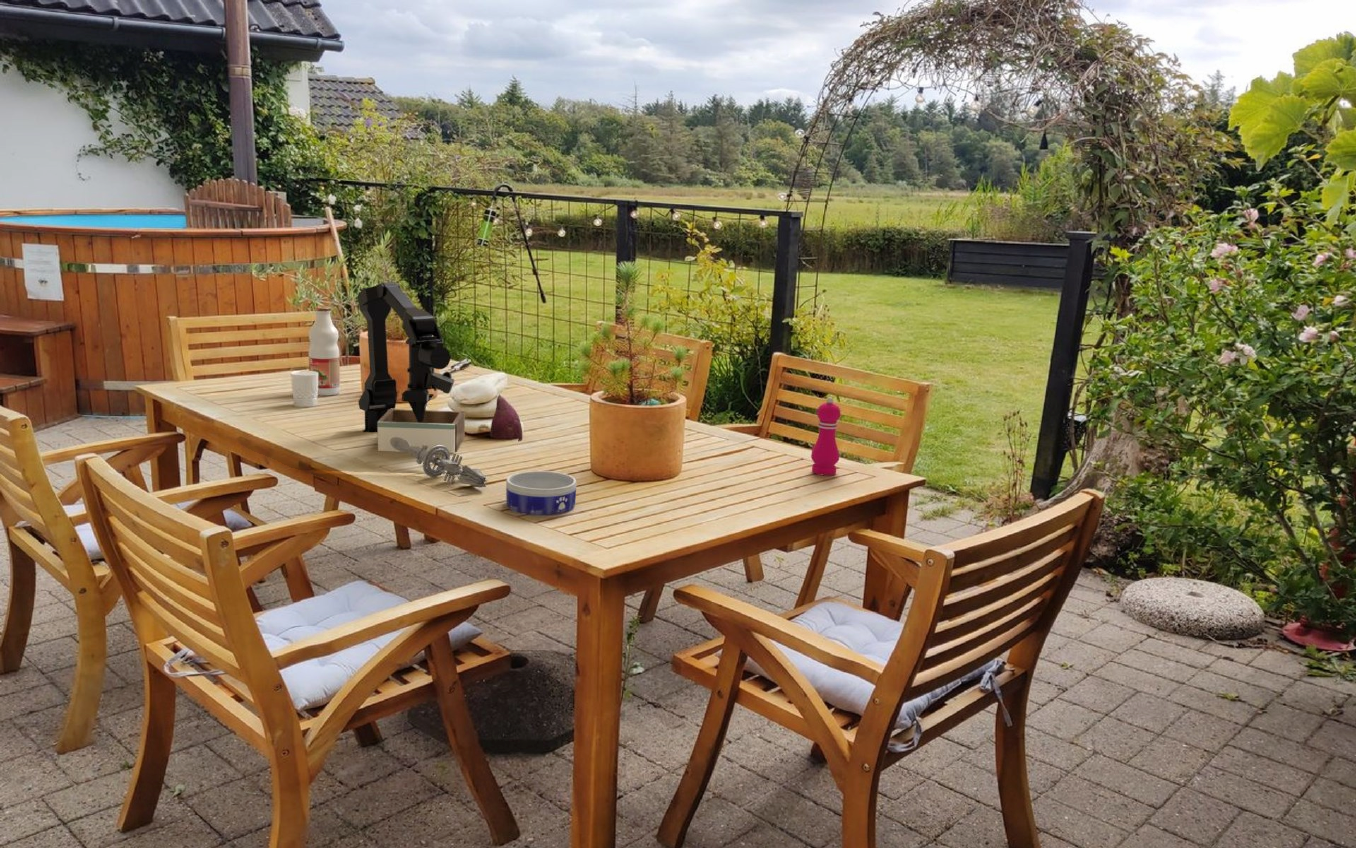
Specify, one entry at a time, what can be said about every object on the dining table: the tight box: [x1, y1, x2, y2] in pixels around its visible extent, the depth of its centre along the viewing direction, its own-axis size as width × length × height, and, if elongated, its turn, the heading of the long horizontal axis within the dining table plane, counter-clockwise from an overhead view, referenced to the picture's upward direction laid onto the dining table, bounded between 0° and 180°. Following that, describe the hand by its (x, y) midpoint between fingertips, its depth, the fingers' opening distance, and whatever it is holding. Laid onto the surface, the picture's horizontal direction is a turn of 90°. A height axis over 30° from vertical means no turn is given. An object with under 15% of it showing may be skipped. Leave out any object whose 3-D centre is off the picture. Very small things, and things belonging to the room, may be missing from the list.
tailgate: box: [377, 421, 456, 454], centre depth 263 cm, size 19×1×8 cm, turn 94°
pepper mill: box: [810, 396, 842, 476], centre depth 265 cm, size 7×7×20 cm
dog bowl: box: [505, 470, 577, 516], centre depth 227 cm, size 15×15×6 cm
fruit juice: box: [308, 305, 341, 397], centre depth 331 cm, size 9×9×28 cm
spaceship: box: [390, 437, 489, 488], centre depth 244 cm, size 8×35×8 cm
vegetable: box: [489, 394, 523, 442], centre depth 285 cm, size 10×9×14 cm
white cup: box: [290, 370, 319, 408], centre depth 314 cm, size 8×8×10 cm
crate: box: [376, 408, 466, 453], centre depth 272 cm, size 20×16×8 cm
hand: (420, 422), depth 269 cm, fingers closed
